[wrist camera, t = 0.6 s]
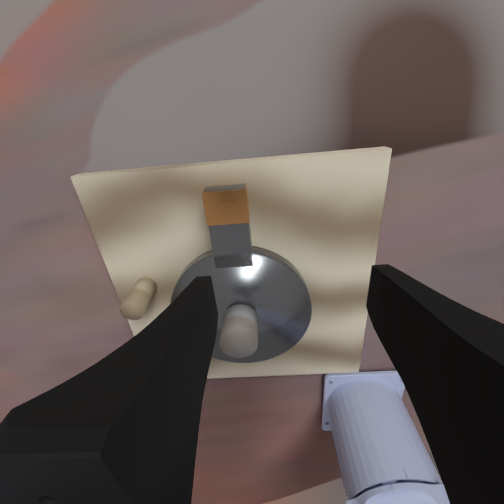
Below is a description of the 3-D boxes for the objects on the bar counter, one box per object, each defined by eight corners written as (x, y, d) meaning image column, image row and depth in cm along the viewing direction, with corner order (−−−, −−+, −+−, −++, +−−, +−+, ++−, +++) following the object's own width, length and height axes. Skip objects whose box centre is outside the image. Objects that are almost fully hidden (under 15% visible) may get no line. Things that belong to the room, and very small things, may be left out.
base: (355, 363, 27) (380, 429, 21) (155, 372, 28) (130, 437, 22) (385, 146, 17) (444, 166, 12) (79, 173, 18) (4, 203, 13)
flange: (308, 347, 23) (310, 360, 22) (189, 353, 23) (185, 366, 22) (310, 177, 16) (314, 183, 15) (144, 191, 17) (135, 198, 15)
